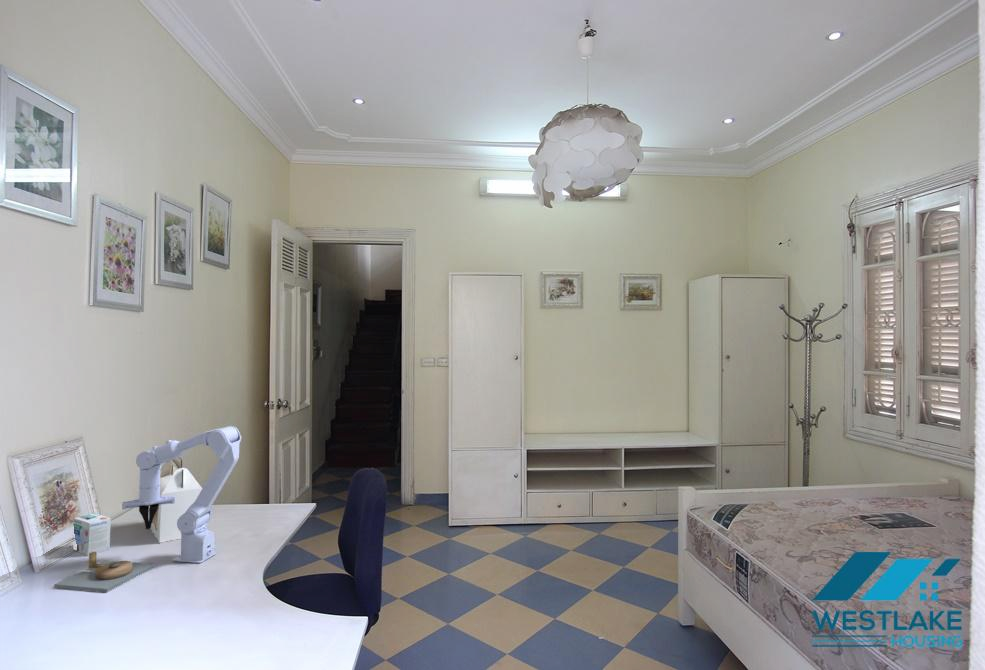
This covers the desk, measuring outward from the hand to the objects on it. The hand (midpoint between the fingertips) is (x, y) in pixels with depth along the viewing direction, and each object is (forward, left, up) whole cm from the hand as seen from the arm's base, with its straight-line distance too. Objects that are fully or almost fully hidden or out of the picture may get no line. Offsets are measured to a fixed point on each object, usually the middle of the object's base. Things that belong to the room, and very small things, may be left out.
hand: (148, 527), depth 172 cm
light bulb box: (+23, -2, -10) cm, 25 cm away
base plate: (0, +16, -9) cm, 18 cm away
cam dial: (0, +15, -8) cm, 17 cm away
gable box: (+9, -23, -10) cm, 27 cm away
